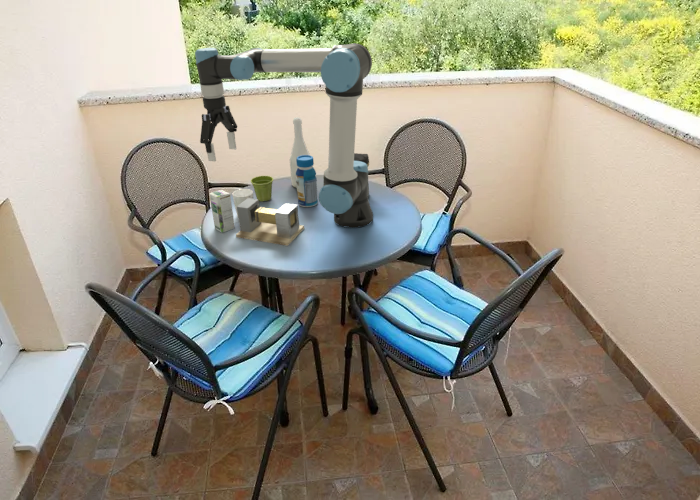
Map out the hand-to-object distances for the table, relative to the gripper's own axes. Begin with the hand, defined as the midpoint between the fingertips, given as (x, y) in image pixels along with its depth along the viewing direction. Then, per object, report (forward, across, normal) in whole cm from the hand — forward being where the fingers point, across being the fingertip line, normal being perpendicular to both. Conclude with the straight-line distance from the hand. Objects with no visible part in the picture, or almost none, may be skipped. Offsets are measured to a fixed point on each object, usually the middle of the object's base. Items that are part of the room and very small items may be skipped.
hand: (222, 154), depth 188 cm
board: (+27, +6, +20) cm, 34 cm away
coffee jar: (+27, -37, +39) cm, 60 cm away
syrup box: (+27, +8, +1) cm, 28 cm away
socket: (+25, +6, +11) cm, 28 cm away
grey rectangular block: (+25, +6, +27) cm, 38 cm away
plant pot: (+27, -21, +2) cm, 34 cm away
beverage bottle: (+27, -22, +22) cm, 41 cm away
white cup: (+27, -4, +3) cm, 27 cm away
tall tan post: (+22, +6, +22) cm, 32 cm away
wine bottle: (+27, -40, +11) cm, 50 cm away
